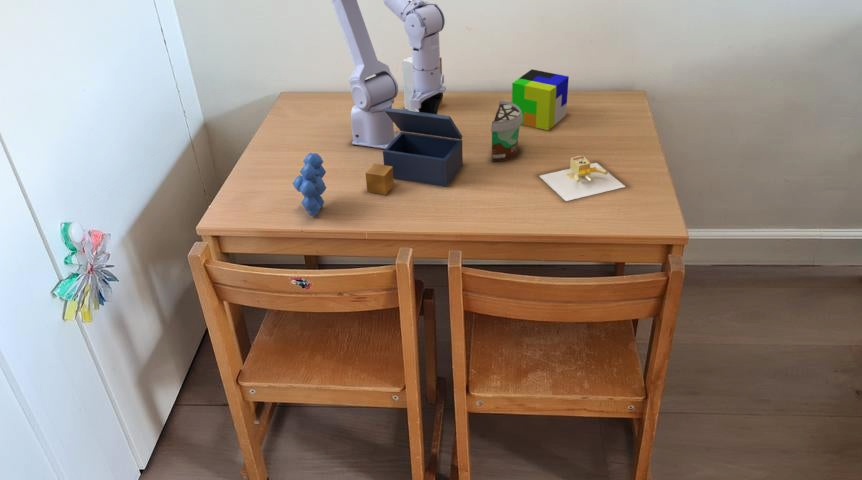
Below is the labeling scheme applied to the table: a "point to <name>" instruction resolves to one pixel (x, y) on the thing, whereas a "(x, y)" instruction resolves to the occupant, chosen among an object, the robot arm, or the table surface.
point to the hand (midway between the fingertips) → (429, 126)
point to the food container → (505, 131)
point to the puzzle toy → (541, 98)
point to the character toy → (581, 180)
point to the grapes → (311, 183)
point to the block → (379, 179)
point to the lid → (424, 123)
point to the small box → (411, 82)
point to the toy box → (424, 158)
